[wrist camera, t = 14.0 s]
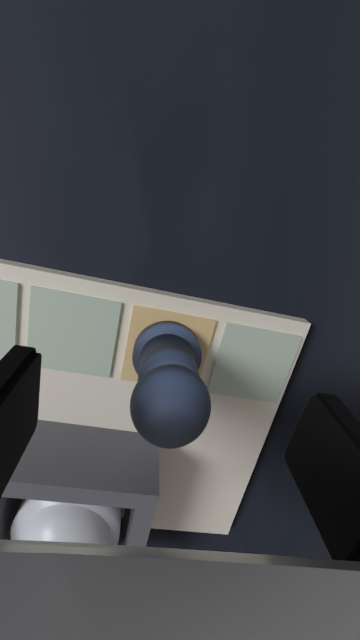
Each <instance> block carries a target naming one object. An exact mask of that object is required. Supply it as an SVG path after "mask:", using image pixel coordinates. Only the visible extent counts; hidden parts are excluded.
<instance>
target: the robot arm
mask: <svg viewBox="0 0 360 640" xmlns="http://www.w3.org/2000/svg"><path fill="white" fill-rule="evenodd" d="M41 360H42V355H41V353H36V349H35V348H34V347H28V346H21V345H14V346H13V347H12V348H11V349H10V350H9V351H8V353H7V354H6V355H5V356H4V357H3V358H2V359H1V360H0V498H1V496H2V494H3V492H4V490H5V488H6V486H7V484H8V482H9V480H10V479H11V477H12V475H13V473H14V471H15V469H16V467H17V465H18V463H19V461H20V459H21V457H22V455H23V453H24V451H25V449H26V447H27V445H28V444H29V442H30V440H31V438H32V436H33V434H34V432H35V429H36V426H37V422H38V409H39V392H40V376H41ZM285 460H286V463H287V465H288V467H289V469H290V471H291V473H292V475H293V478H294V480H295V482H296V484H297V486H298V488H299V490H300V492H301V494H302V497H303V499H304V501H305V503H306V505H307V507H308V509H309V511H310V513H311V515H312V518H313V520H314V522H315V524H316V526H317V528H318V530H319V532H320V534H321V537H322V539H323V541H324V543H325V545H326V547H327V549H328V551H329V553H330V555H331V558H332V559H333V560H330V559H317V558H303V557H289V556H275V555H261V554H247V553H232V552H217V551H202V550H188V549H172V548H156V547H140V546H124V545H108V544H92V543H75V542H53V541H30V540H7V539H0V640H360V422H359V421H358V420H357V419H356V418H355V416H354V415H353V414H352V413H351V412H350V411H349V410H348V408H347V407H346V406H345V405H344V404H343V403H342V402H341V400H340V399H339V398H338V397H337V396H335V395H331V394H325V393H317V394H316V395H315V396H313V397H311V399H310V401H309V403H308V405H307V407H306V409H305V411H304V413H303V415H302V418H301V420H300V422H299V424H298V426H297V428H296V430H295V432H294V435H293V437H292V439H291V441H290V443H289V445H288V447H287V449H286V452H285Z"/></svg>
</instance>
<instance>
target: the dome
mask: <svg viewBox="0 0 360 640" xmlns="http://www.w3.org/2000/svg"><path fill="white" fill-rule="evenodd" d="M121 517H122V508H119V507H108V506H96V505H85V504H74V503H63V502H52V501H41V500H30V499H23V500H22V503H21V505H20V507H19V509H18V511H17V514H16V516H15V518H14V520H13V522H12V525H11V530H10V537H11V540H30V541H53V542H75V543H92V544H108V545H117V544H118V541H119V535H120V526H121Z"/></svg>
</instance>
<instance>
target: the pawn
mask: <svg viewBox="0 0 360 640" xmlns="http://www.w3.org/2000/svg"><path fill="white" fill-rule="evenodd" d="M201 361H202V353H201V348H200V345H199V342H198V339H197V337H196V335H195V334H194V333H193V331H192V330H190V329H189V328H188V327H187V326H185V325H183V324H181V323H179V322H175V321H160V322H156V323H153V324H151V325H149V326H147V327H146V328H145V329H144V330H143V331H141V333H140V334H139V335H138V337H137V338H136V341H135V344H134V348H133V355H132V362H133V366H134V369H135V371H136V373H137V374H138V382H137V384H136V385H135V387H134V390H133V392H132V395H131V399H130V414H131V419H132V422H133V424H134V426H135V428H136V430H137V431H138V433H139V434H140V435H141V436H142V437H143V438H144V439H145V440H146V441H148V442H149V443H151V444H152V445H155V446H157V447H161V448H166V449H174V448H180V447H183V446H186V445H188V444H190V443H191V442H193V441H194V440H196V439H197V438H198V437H199V436H200V435H201V433H202V432H203V431H204V429H205V427H206V426H207V424H208V421H209V418H210V413H211V399H210V395H209V392H208V389H207V387H206V385H205V383H204V382H203V380H202V379H201V378H200V376H199V372H198V370H199V368H200V365H201Z"/></svg>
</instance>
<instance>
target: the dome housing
mask: <svg viewBox="0 0 360 640" xmlns="http://www.w3.org/2000/svg"><path fill="white" fill-rule="evenodd" d="M23 499H30V500H41V501H52V502H63V503H74V504H85V505H96V506H108V507H119V508H126V510H125V514H124V518H121V526H120V535H119V541H118V544H117V545H124V546H140V547H146V544H147V540H148V537H149V533H150V529H151V526H152V522H153V518H154V515H155V511H156V507H157V503H158V500H159V447H157V446H155V445H152V444H151V443H149V442H148V441H146V440H145V439H144V438H143V437H142V436H141V435H140V434H139V433H138V432H132V431H124V430H116V429H108V428H101V427H93V426H85V425H77V424H69V423H61V422H53V421H45V420H38V422H37V426H36V429H35V432H34V434H33V436H32V438H31V440H30V442H29V444H28V445H27V447H26V449H25V451H24V453H23V455H22V457H21V459H20V461H19V463H18V465H17V467H16V469H15V471H14V473H13V475H12V477H11V479H10V480H9V482H8V484H7V486H6V488H5V490H4V492H3V494H2V496H1V498H0V539H7V540H11V537H10V530H11V525H12V522H13V520H14V518H15V516H16V514H17V511H18V509H19V507H20V505H21V503H22V500H23Z"/></svg>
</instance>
